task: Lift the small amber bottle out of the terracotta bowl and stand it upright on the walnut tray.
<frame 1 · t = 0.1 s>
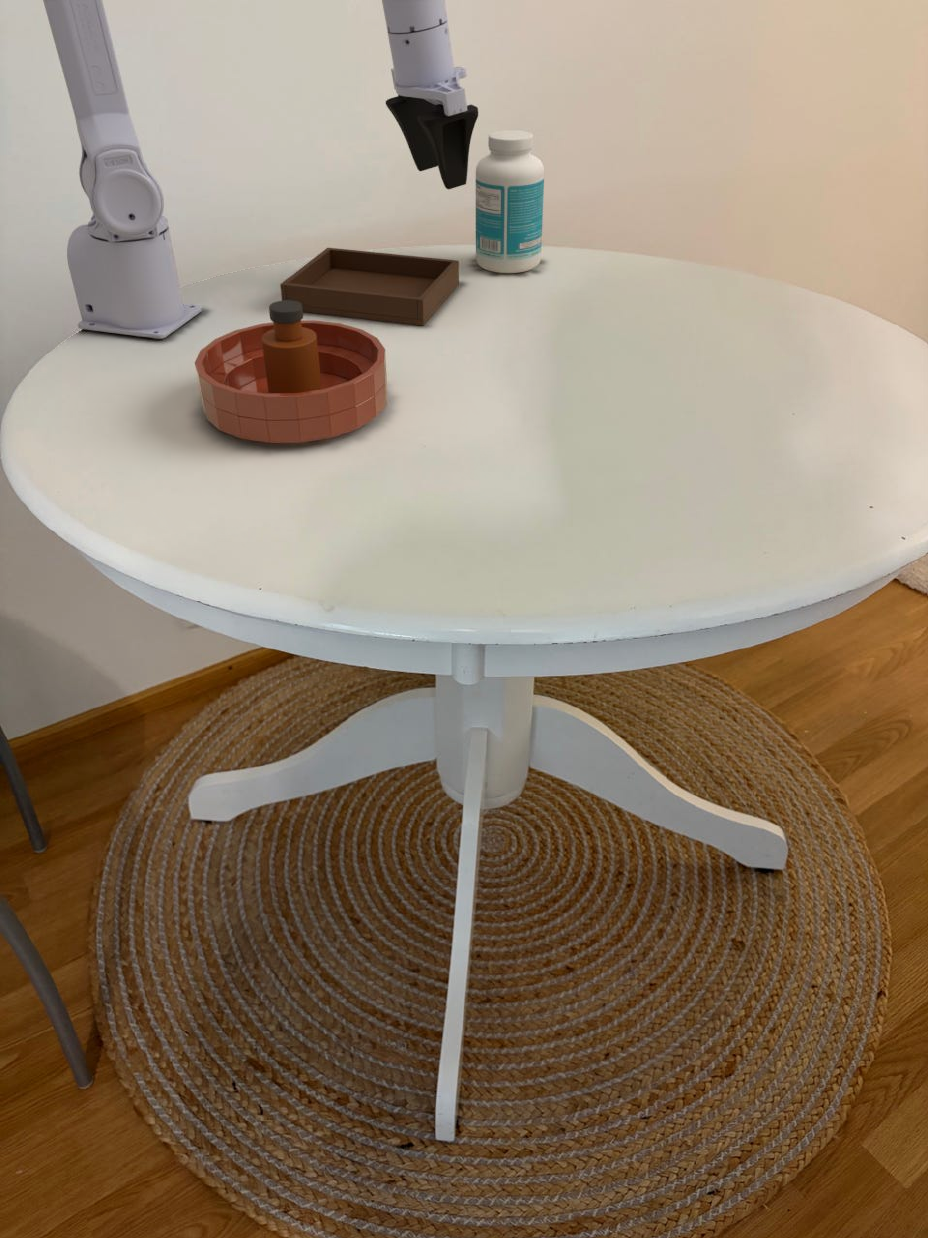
hand: (441, 176, 98), 11 cm above the table, tool pointing down, fingers open, 7 cm apart
pill bottle: (507, 266, 109), on the table
bowl: (297, 406, 80), on the table
bottle: (296, 399, 80), point 1 cm above the table, touching bowl
tray: (373, 296, 100), on the table
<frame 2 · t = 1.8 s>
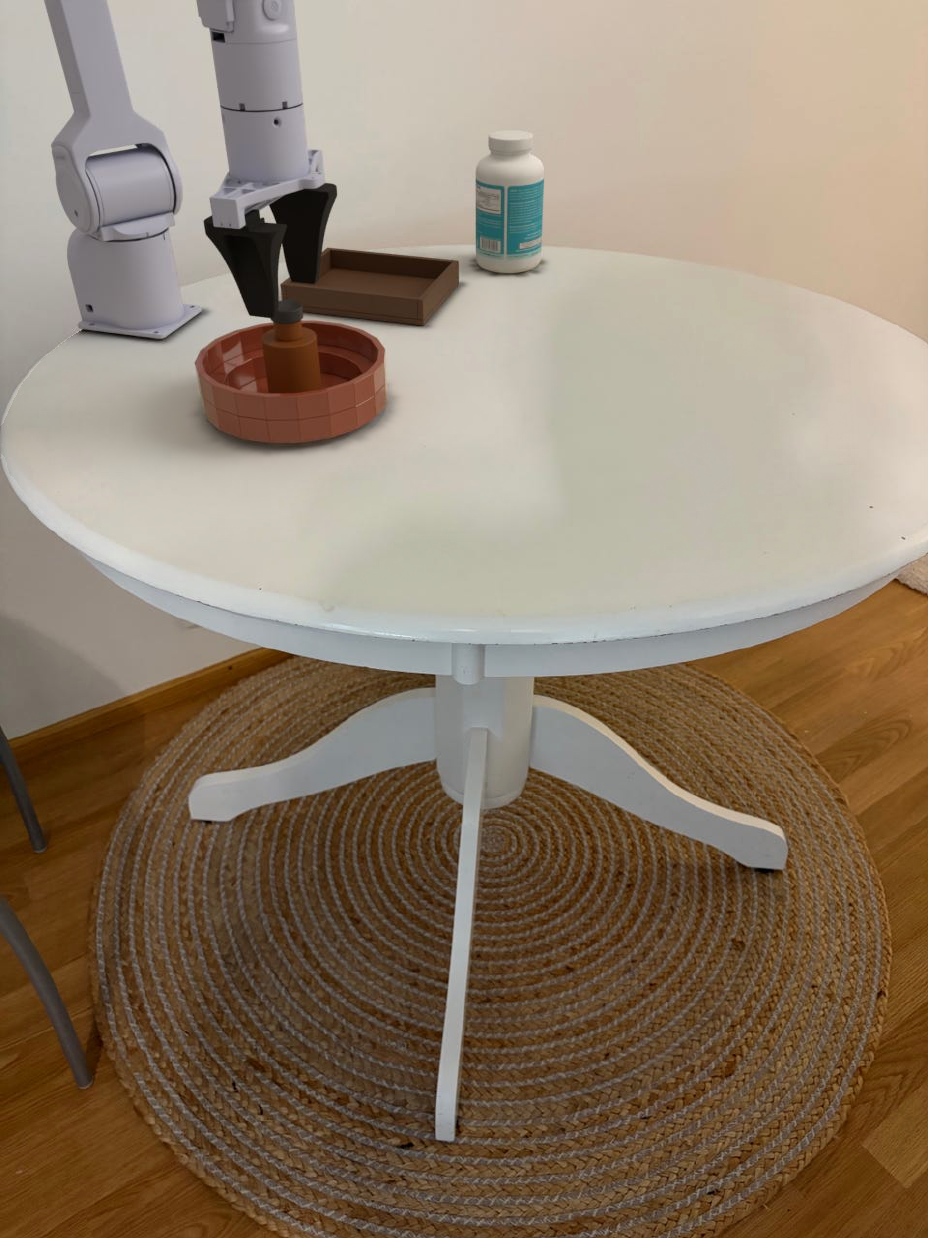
hand: (284, 297, 75), 9 cm above the table, tool pointing down, fingers open, 7 cm apart
nothing on the table moved.
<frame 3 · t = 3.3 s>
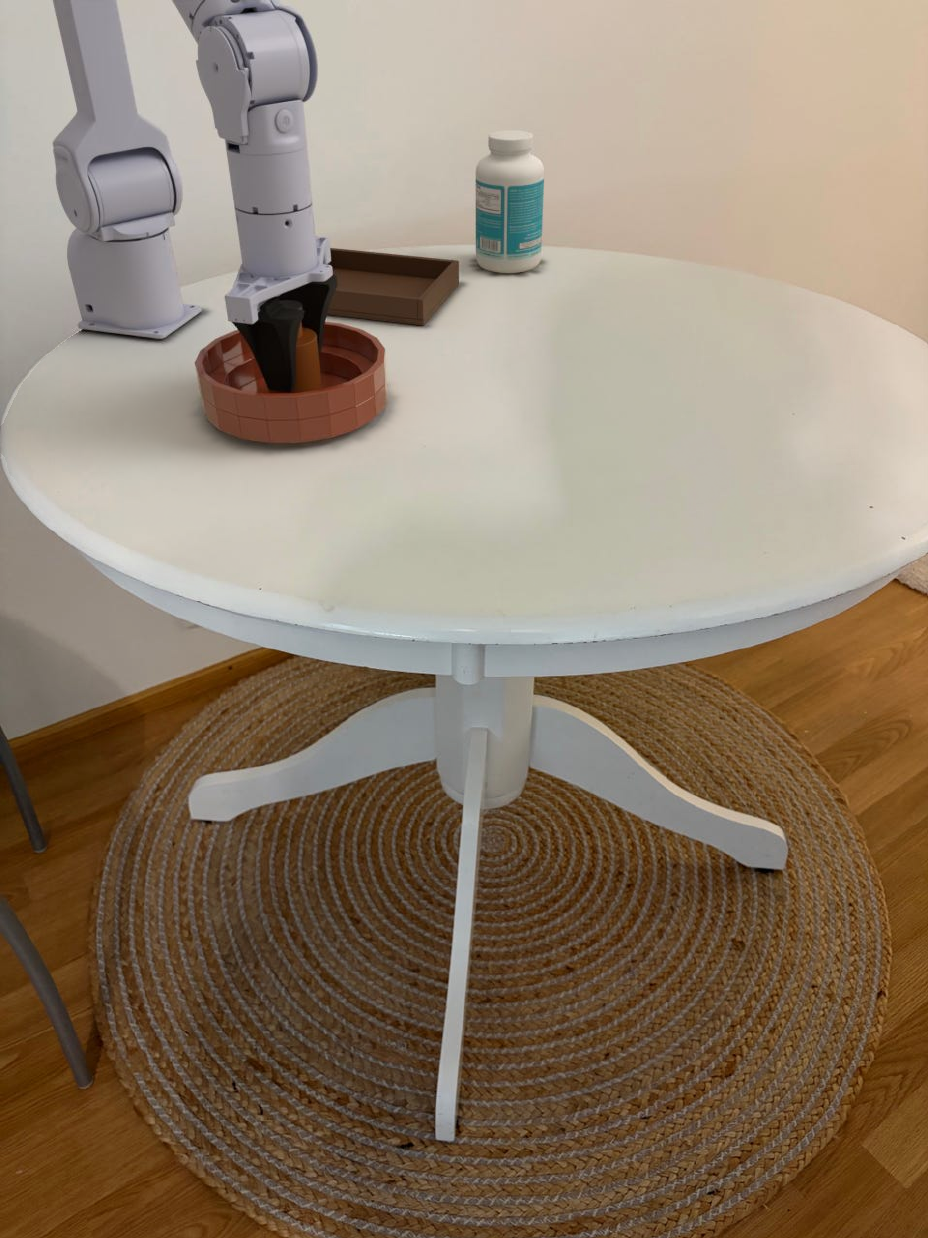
hand: (293, 377, 79), 3 cm above the table, tool pointing down, fingers closed on bottle, 4 cm apart
bottle: (296, 399, 80), point 1 cm above the table, touching bowl, gripper
everything else where it was.
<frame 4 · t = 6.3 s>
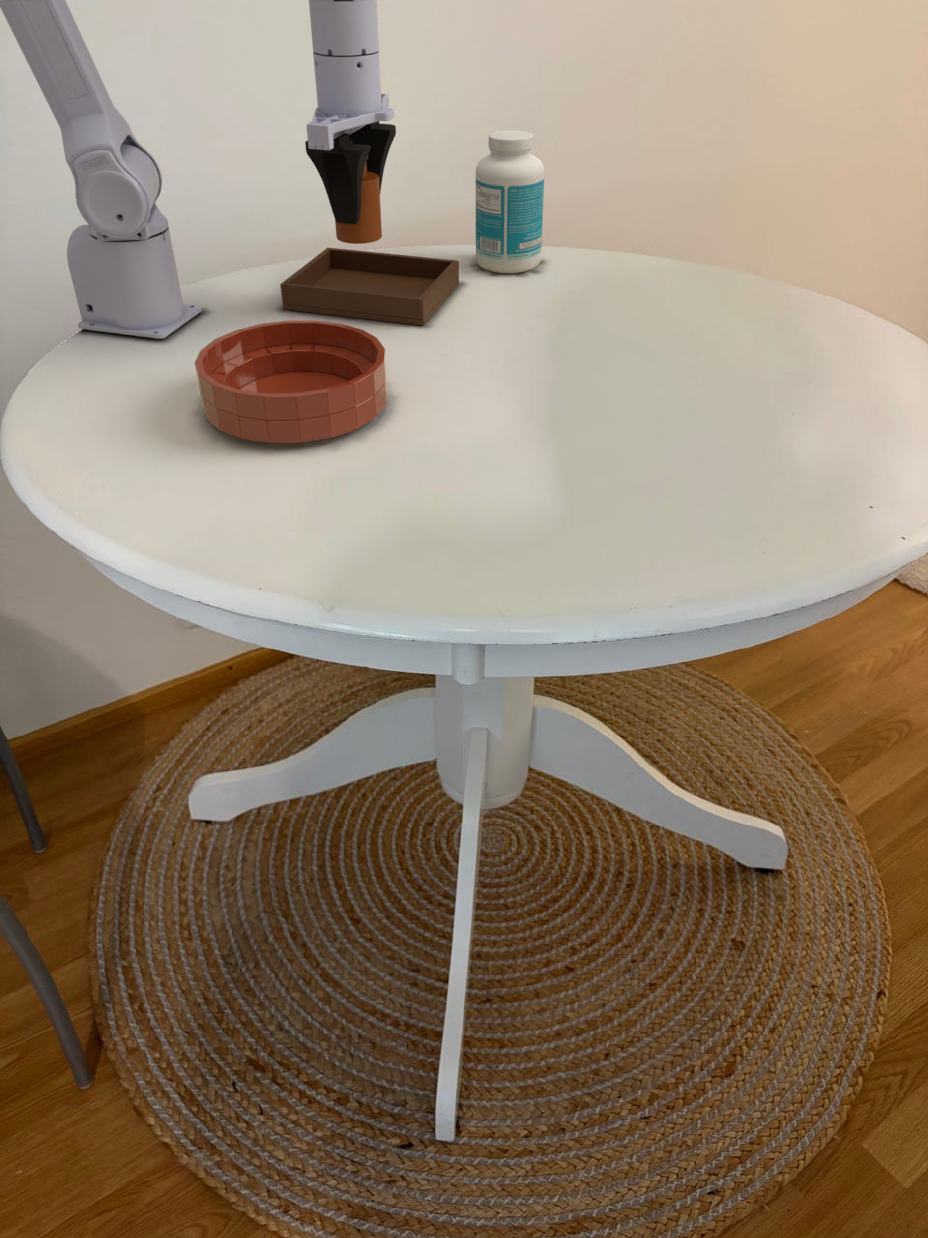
hand: (357, 215, 91), 9 cm above the table, tool pointing down, fingers closed on bottle, 4 cm apart
bottle: (359, 236, 92), point 7 cm above the table, touching gripper
everything else where it was.
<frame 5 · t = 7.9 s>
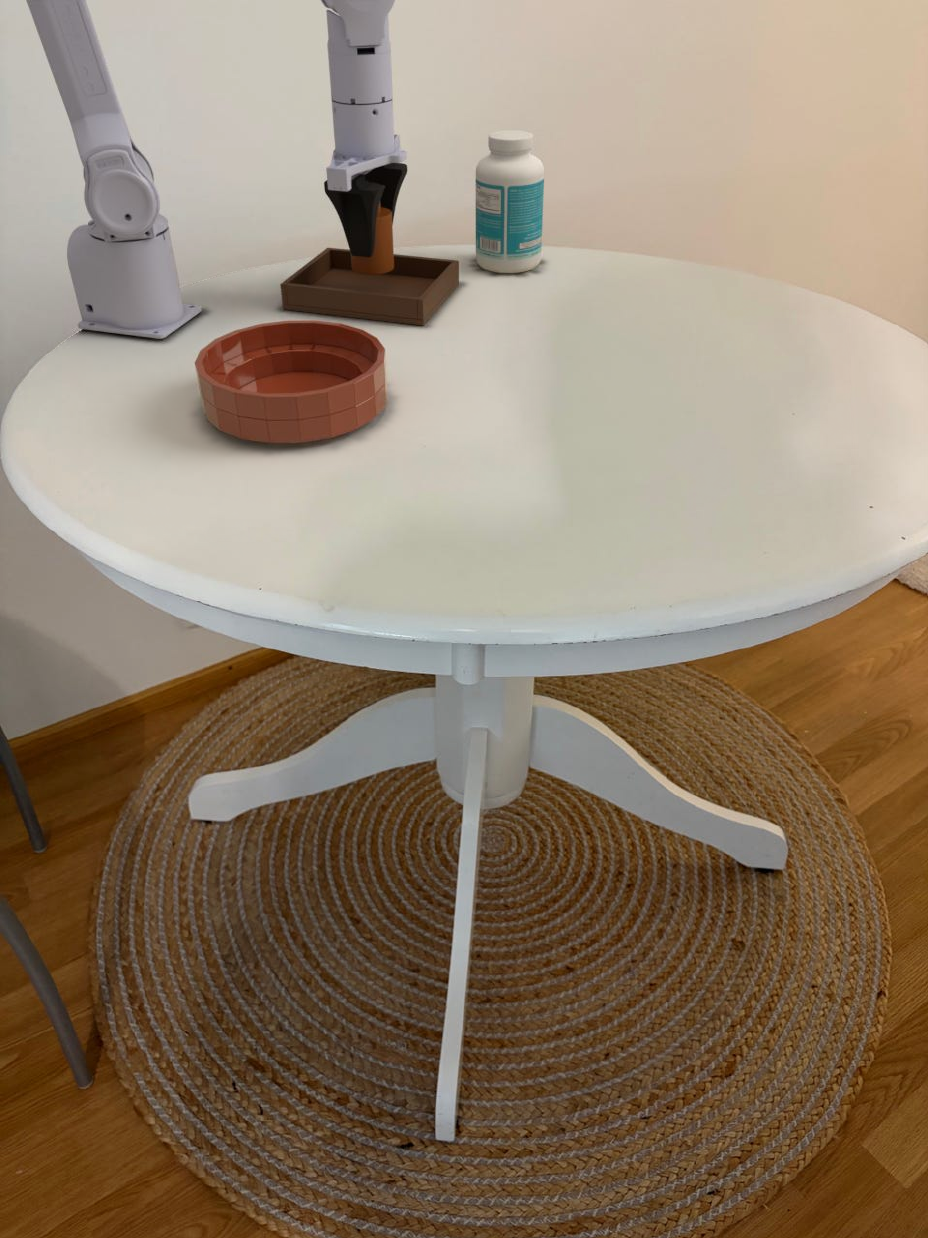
hand: (370, 248, 97), 5 cm above the table, tool pointing down, fingers closed on bottle, 4 cm apart
bottle: (372, 267, 99), point 3 cm above the table, touching gripper
everything else where it was.
when the fingers open (3 cm above the table, at t = 9.2 s): bottle stays where it is, resting on tray.
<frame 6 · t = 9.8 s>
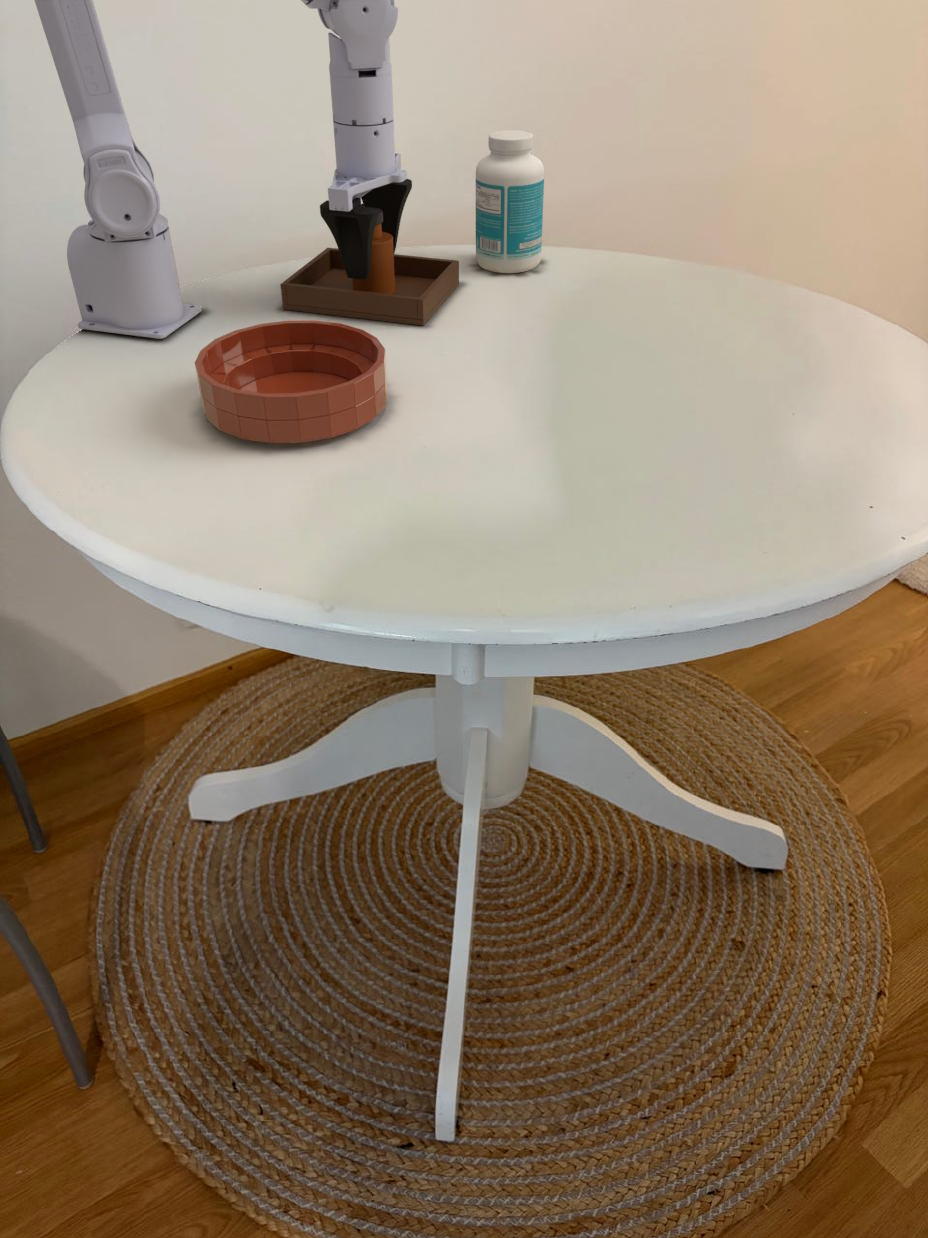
hand: (371, 265, 98), 3 cm above the table, tool pointing down, fingers open, 7 cm apart
bottle: (374, 290, 100), point 1 cm above the table, touching tray
everything else where it was.
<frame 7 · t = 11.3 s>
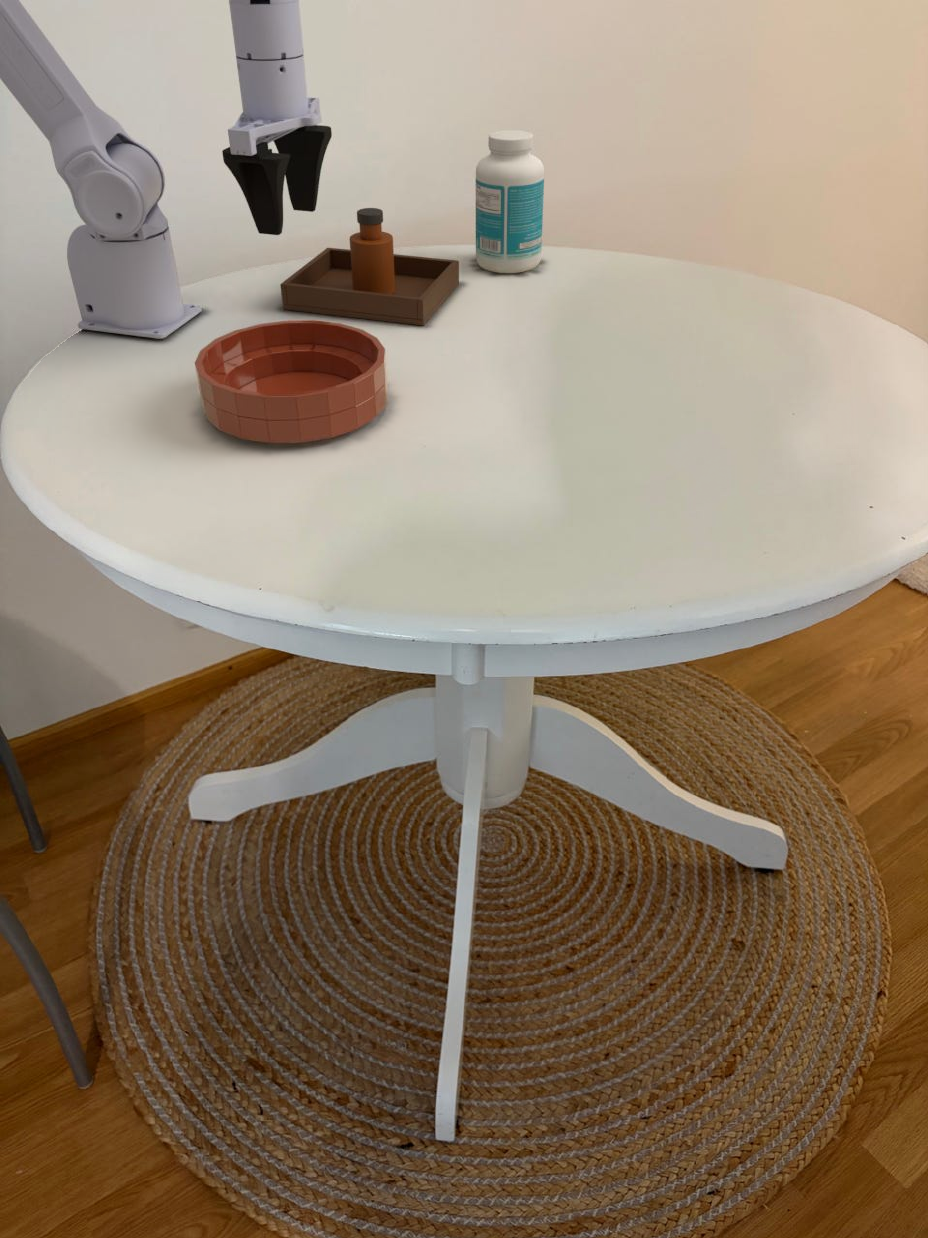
hand: (287, 221, 90), 9 cm above the table, tool pointing down, fingers open, 7 cm apart
nothing on the table moved.
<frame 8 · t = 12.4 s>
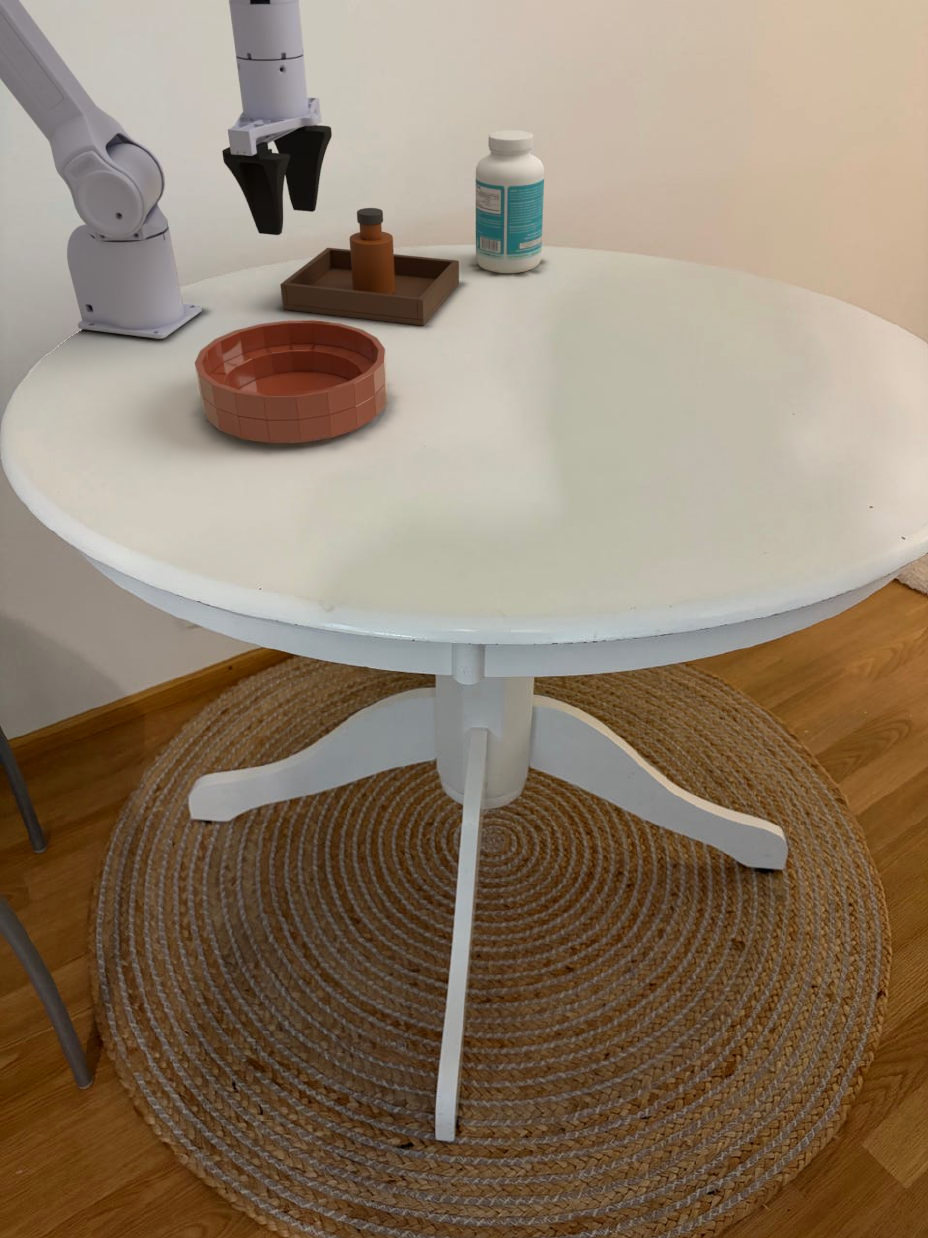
hand: (287, 221, 90), 9 cm above the table, tool pointing down, fingers open, 7 cm apart
nothing on the table moved.
at the end: bottle inside the target area in the tray (0.1 cm from its centre), point 0.6 cm above the tray's base; bottle tilted 0°; the gripper is holding nothing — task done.
